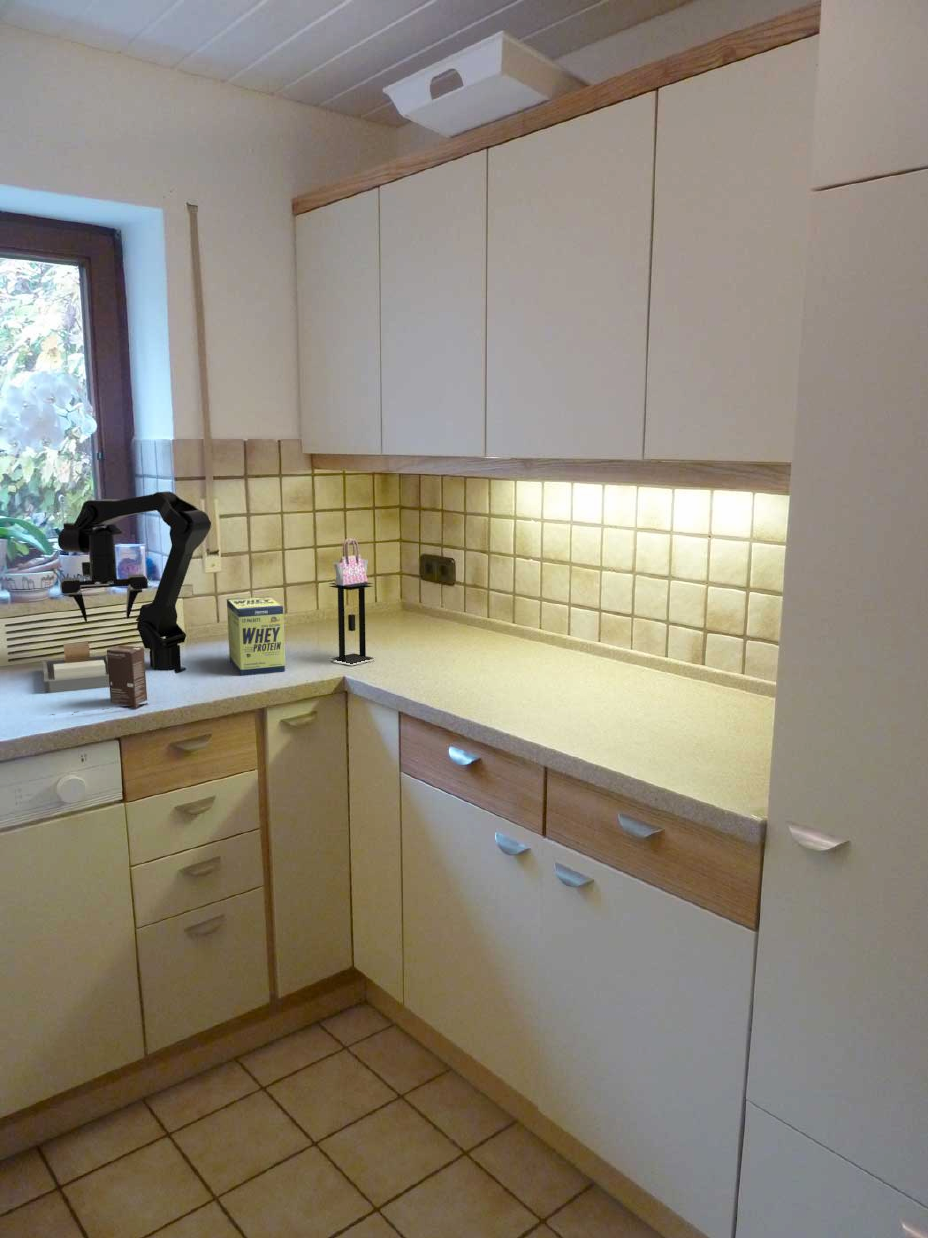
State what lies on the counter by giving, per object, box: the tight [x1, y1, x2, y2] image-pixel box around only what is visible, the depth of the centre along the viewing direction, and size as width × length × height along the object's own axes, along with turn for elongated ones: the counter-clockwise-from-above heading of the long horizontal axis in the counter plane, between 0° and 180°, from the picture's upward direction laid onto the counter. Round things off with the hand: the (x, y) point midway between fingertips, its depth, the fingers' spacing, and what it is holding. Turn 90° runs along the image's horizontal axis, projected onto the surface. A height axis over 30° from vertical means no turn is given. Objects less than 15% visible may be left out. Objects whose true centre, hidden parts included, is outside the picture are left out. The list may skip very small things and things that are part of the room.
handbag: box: [328, 538, 375, 664], centre depth 222 cm, size 10×8×30 cm
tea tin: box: [63, 641, 91, 663], centre depth 206 cm, size 5×5×7 cm
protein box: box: [226, 596, 286, 677], centre depth 218 cm, size 10×16×16 cm
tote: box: [42, 654, 110, 695], centre depth 204 cm, size 20×14×4 cm
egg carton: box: [53, 660, 106, 680], centre depth 198 cm, size 5×10×4 cm, turn 115°
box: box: [106, 644, 148, 710], centre depth 186 cm, size 6×4×12 cm
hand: (107, 619), depth 218 cm, fingers open, 9 cm apart
